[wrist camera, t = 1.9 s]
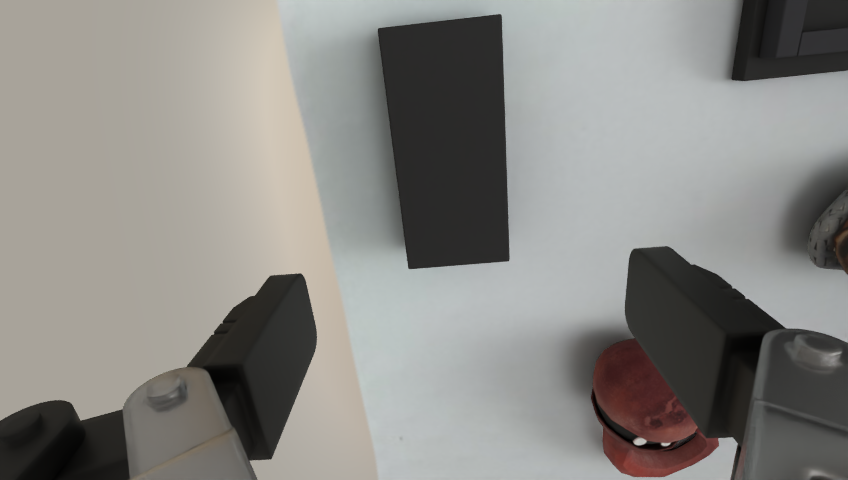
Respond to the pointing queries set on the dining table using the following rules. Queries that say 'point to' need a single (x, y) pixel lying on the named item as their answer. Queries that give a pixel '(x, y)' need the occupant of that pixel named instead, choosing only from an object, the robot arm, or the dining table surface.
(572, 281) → the dining table surface
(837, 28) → the dock pad
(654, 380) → the hook toy
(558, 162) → the dining table surface
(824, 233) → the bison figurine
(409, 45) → the strip pad
